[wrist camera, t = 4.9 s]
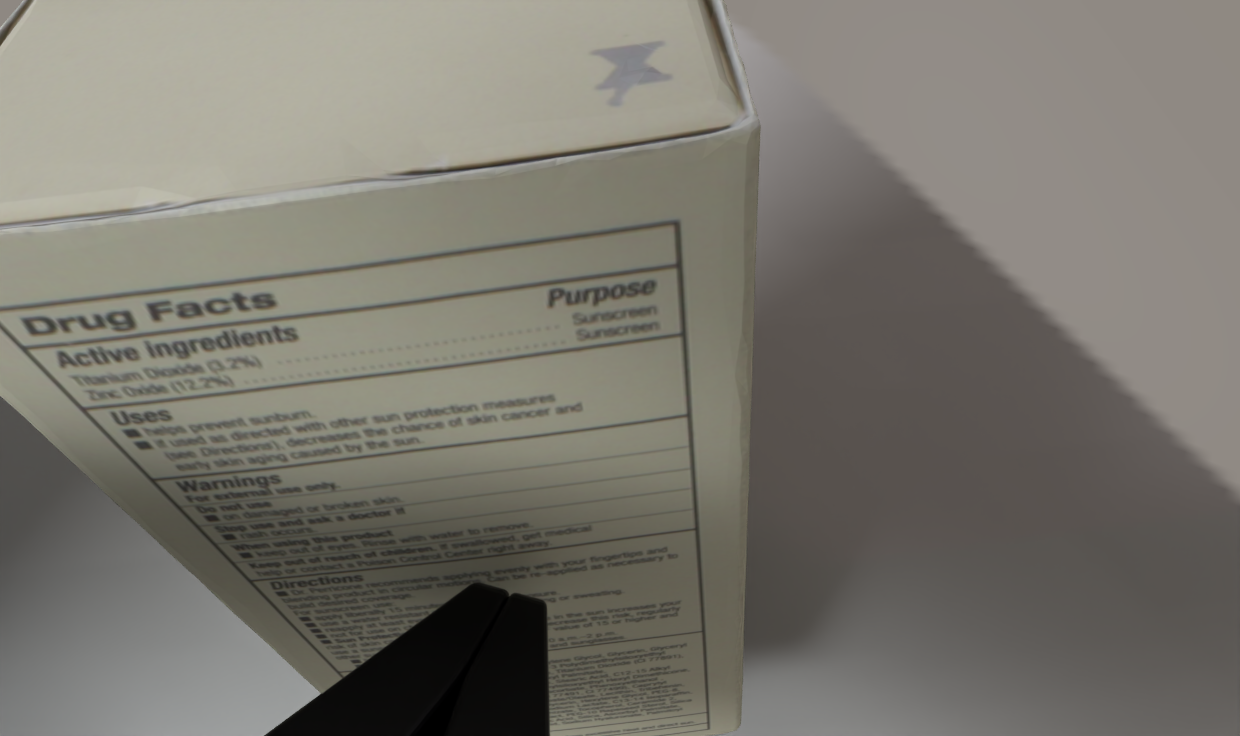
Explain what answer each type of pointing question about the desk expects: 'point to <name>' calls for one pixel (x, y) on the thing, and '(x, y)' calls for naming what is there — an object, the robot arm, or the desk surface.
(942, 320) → the desk surface
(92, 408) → the skincare box
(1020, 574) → the desk surface
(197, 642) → the desk surface
